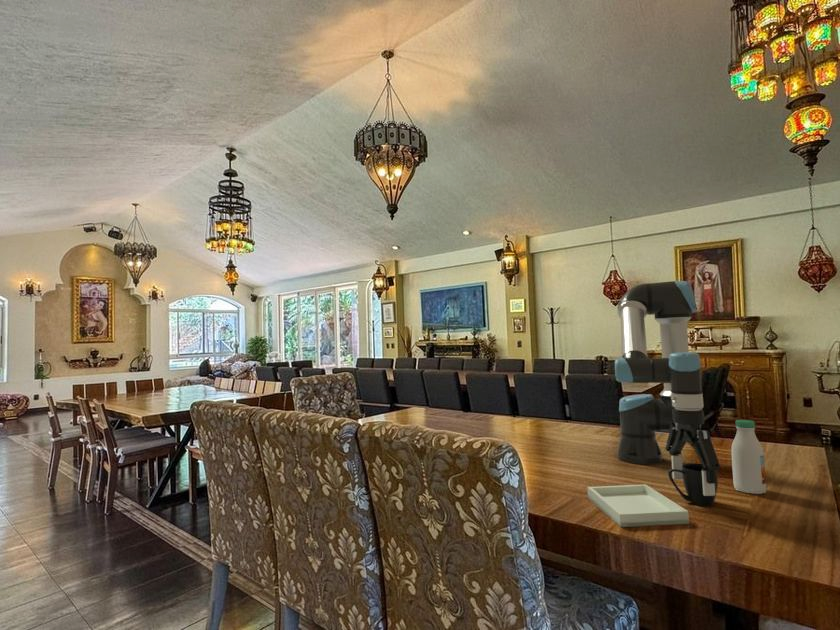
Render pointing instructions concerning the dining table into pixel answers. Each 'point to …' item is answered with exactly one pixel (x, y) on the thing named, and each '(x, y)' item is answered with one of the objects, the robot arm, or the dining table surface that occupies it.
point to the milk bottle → (748, 460)
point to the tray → (637, 506)
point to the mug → (694, 484)
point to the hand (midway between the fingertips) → (692, 486)
